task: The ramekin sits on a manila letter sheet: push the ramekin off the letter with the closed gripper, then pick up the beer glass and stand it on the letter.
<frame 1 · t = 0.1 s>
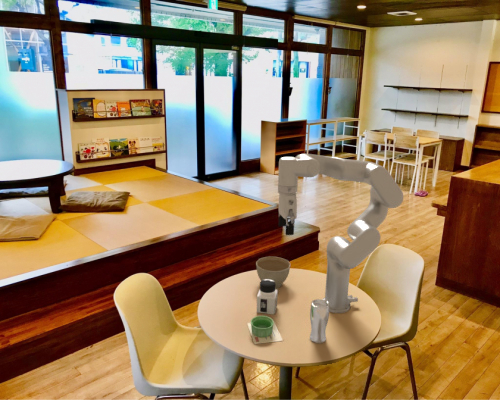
hand: (285, 230, 168), 37 cm above the table, tool pointing down, fingers open, 9 cm apart
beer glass: (317, 338, 160), on the table
container: (266, 309, 180), on the table
ramekin: (261, 332, 164), resting on letter
letter: (264, 331, 164), on the table
planter bowl: (272, 284, 201), on the table
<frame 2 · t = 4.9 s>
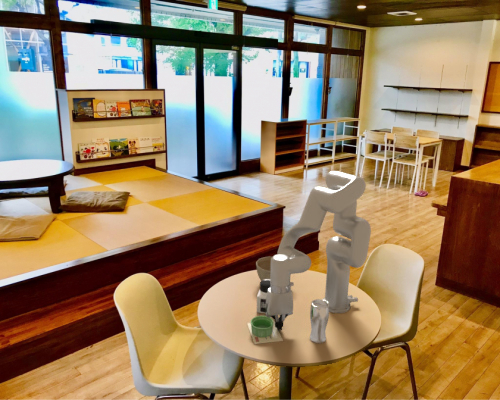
hand: (279, 328, 165), 1 cm above the table, tool pointing down, fingers closed
ramekin: (261, 332, 164), resting on letter, touching gripper
everything else where it was.
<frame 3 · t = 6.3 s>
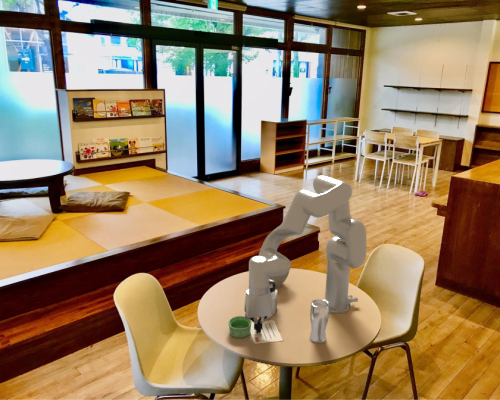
hand: (258, 330, 163), 1 cm above the table, tool pointing down, fingers closed
ramekin: (240, 332, 163), on the table, touching gripper
everything else where it was.
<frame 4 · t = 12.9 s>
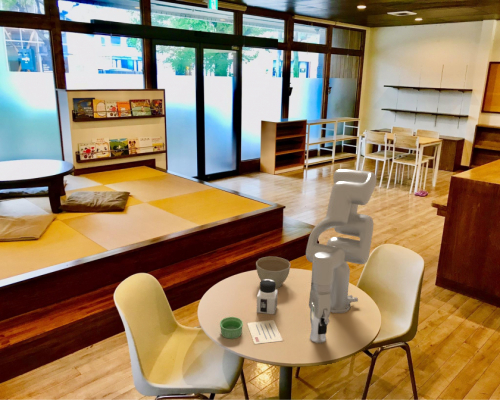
hand: (318, 327, 159), 5 cm above the table, tool pointing down, fingers closed on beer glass, 6 cm apart
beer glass: (317, 338, 160), on the table, touching gripper
ramekin: (231, 333, 163), on the table
everything else where it was.
when the fingers open (6 cm above the table, at t = 19.0 s): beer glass stays where it is, resting on letter.
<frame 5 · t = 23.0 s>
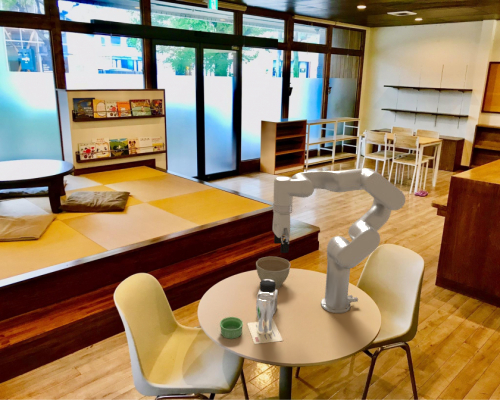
hand: (281, 247, 172), 28 cm above the table, tool pointing down, fingers open, 9 cm apart
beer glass: (264, 331, 164), resting on letter
everything else where it was.
at the end: ramekin inside the target area (5.5 cm from its centre), on the table; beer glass inside the target area on the letter (0.4 cm from its centre), point 0.0 cm above the letter's base; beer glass tilted 0° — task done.
